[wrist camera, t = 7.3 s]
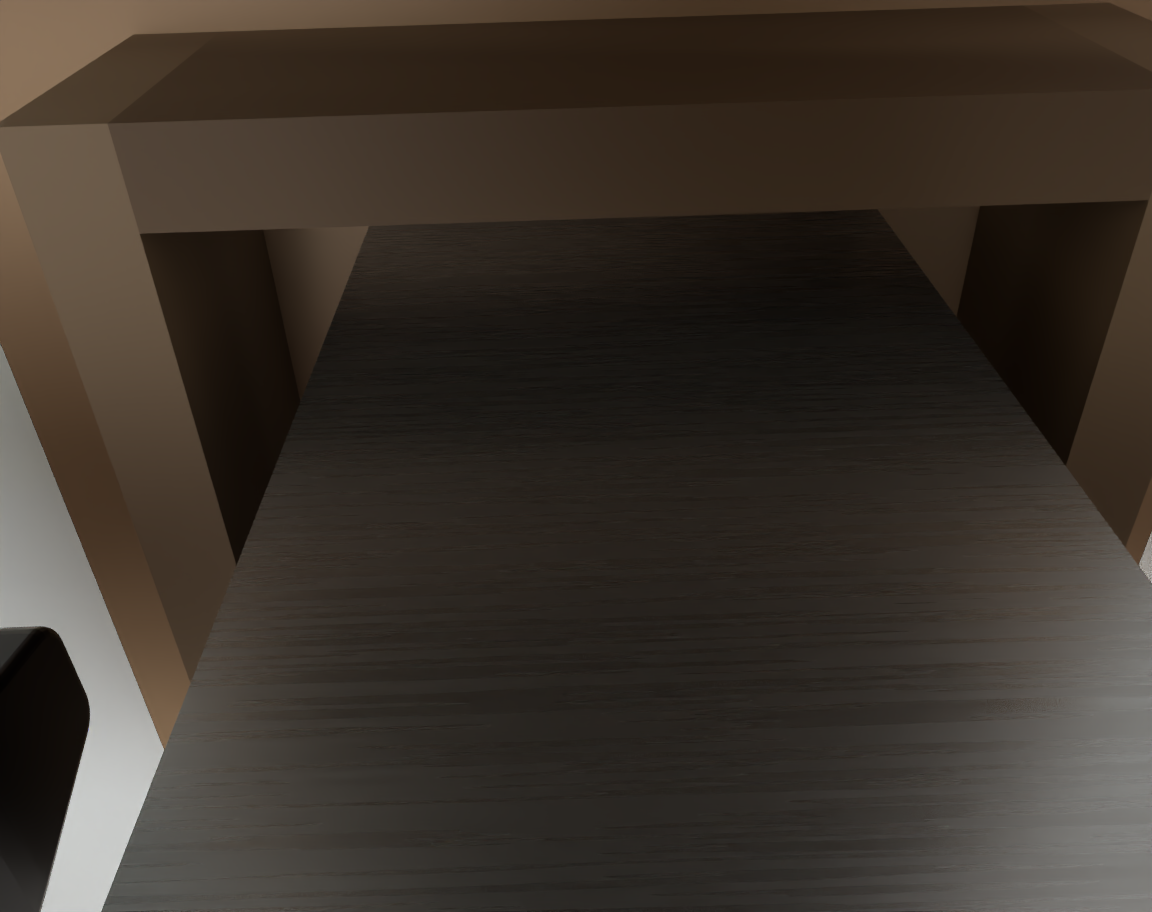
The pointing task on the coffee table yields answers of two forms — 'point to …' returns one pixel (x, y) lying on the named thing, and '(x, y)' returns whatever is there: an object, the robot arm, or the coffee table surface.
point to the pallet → (523, 213)
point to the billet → (660, 602)
